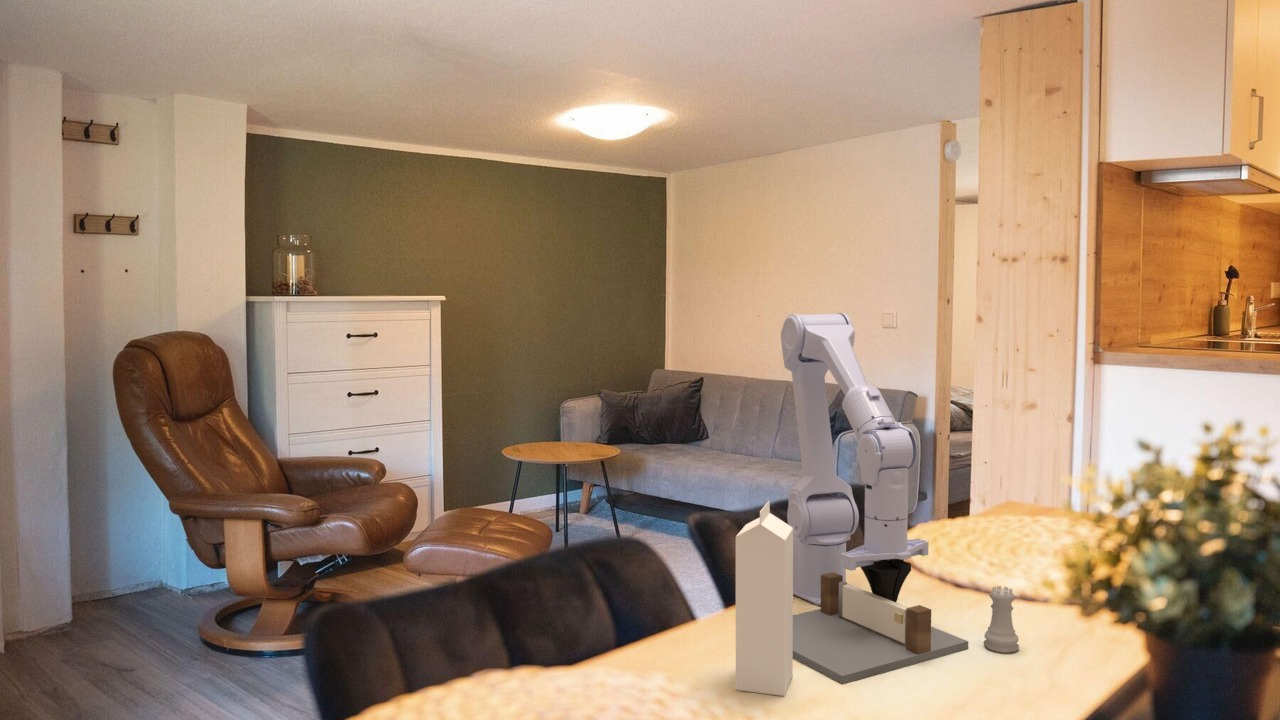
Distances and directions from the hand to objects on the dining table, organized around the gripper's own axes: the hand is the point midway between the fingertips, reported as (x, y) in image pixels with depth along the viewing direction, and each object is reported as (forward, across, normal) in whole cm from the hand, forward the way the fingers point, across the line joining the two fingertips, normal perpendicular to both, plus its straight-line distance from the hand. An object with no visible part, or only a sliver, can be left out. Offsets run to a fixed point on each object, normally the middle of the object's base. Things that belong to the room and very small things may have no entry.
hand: (884, 612), depth 131 cm
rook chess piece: (+3, +10, -11) cm, 15 cm away
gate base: (+3, -5, +1) cm, 6 cm away
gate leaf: (+2, -2, 0) cm, 3 cm away
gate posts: (+2, -2, 0) cm, 3 cm away
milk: (+3, -24, -4) cm, 25 cm away
